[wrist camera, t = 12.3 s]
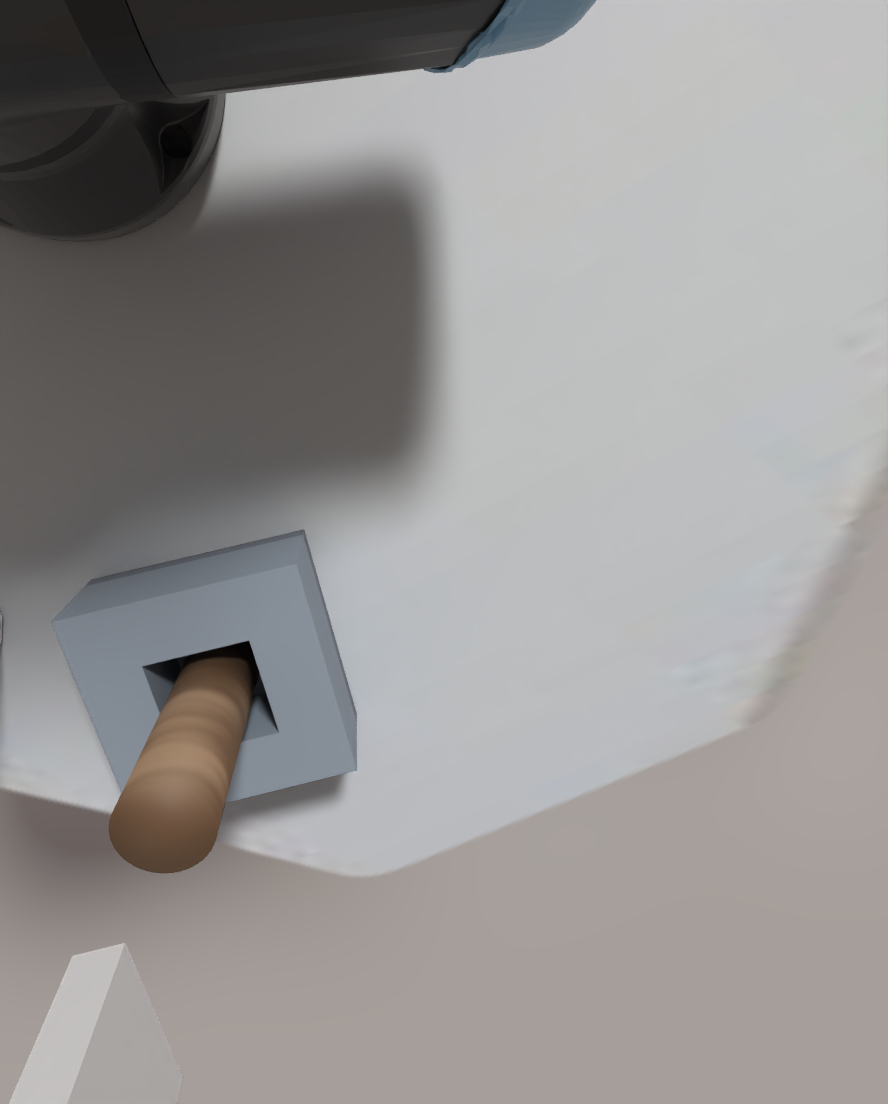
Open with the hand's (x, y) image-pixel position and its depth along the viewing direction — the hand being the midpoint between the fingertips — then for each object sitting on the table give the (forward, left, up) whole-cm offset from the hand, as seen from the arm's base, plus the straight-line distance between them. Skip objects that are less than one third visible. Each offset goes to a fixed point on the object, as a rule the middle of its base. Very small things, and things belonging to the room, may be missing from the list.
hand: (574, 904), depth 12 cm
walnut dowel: (+8, -13, -32) cm, 35 cm away
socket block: (+8, -13, -33) cm, 36 cm away
